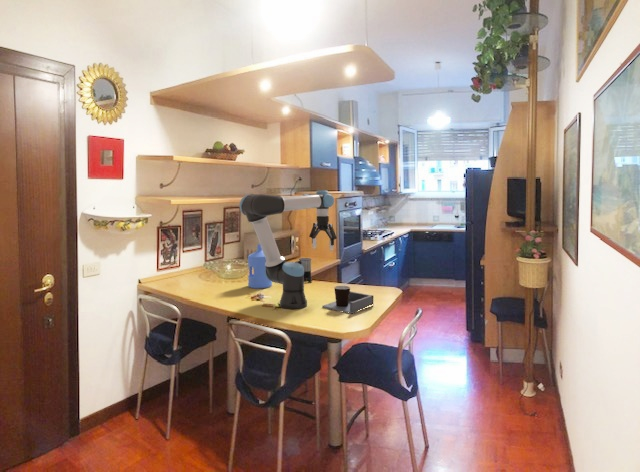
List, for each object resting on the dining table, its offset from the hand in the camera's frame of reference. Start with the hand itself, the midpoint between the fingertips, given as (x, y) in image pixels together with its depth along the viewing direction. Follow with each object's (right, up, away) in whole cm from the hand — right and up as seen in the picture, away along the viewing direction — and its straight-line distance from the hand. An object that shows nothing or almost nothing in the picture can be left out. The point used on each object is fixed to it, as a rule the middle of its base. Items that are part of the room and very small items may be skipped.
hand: (322, 249), depth 265 cm
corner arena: (+14, -31, -32) cm, 47 cm away
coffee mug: (+11, -30, -31) cm, 44 cm away
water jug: (-42, -25, +19) cm, 52 cm away
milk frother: (-12, -23, +38) cm, 46 cm away
